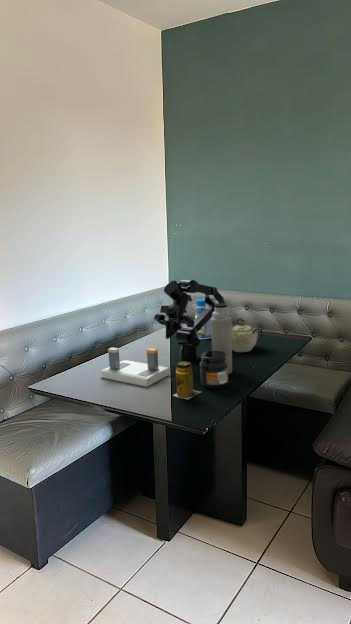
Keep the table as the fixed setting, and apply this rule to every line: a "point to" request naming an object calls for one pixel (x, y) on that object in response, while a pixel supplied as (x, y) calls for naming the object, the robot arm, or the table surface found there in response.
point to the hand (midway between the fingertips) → (166, 338)
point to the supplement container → (214, 369)
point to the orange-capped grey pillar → (152, 358)
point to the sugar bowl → (244, 337)
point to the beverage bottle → (206, 329)
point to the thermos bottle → (222, 332)
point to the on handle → (114, 358)
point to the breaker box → (135, 373)
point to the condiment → (185, 381)
